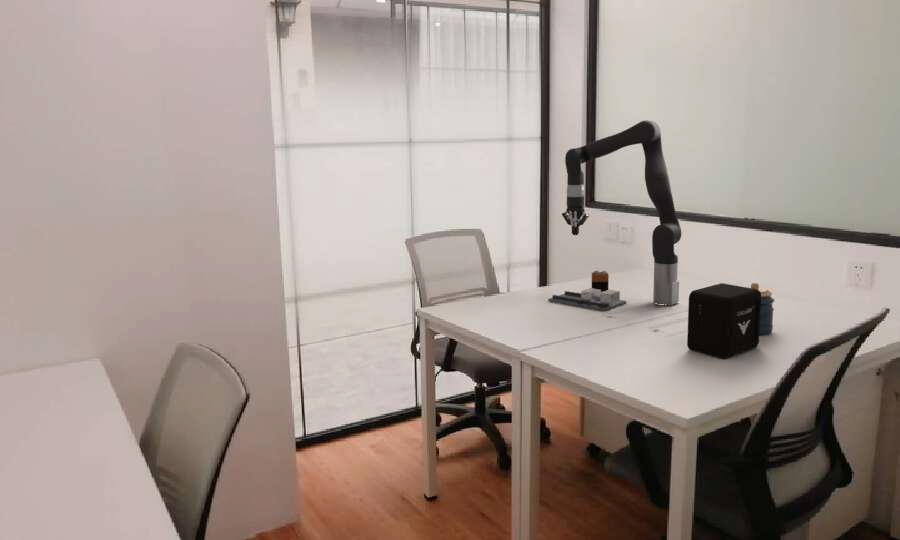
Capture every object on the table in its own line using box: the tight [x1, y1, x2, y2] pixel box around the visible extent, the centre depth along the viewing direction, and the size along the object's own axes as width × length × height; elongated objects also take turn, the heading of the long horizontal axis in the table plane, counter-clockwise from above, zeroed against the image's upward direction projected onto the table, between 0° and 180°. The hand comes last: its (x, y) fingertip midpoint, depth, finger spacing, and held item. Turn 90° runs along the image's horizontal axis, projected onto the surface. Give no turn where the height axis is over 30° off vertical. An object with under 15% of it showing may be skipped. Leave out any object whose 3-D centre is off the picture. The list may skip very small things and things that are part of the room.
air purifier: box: [686, 282, 761, 359], centre depth 235 cm, size 20×15×20 cm
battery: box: [591, 270, 609, 292], centre depth 319 cm, size 4×7×10 cm, turn 88°
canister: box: [746, 282, 775, 337], centre depth 255 cm, size 13×13×18 cm
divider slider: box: [580, 287, 601, 302], centre depth 300 cm, size 5×10×4 cm, turn 136°
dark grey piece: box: [547, 289, 627, 313], centre depth 303 cm, size 28×16×6 cm, turn 46°
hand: (575, 234), depth 315 cm, fingers closed
